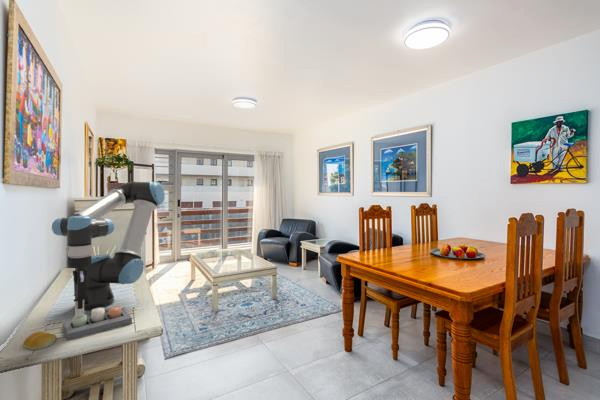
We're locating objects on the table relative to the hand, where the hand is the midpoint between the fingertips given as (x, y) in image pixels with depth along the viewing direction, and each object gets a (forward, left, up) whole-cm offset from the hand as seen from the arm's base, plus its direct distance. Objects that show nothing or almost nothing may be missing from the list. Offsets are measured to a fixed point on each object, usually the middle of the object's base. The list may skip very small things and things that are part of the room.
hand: (79, 316), depth 116 cm
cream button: (0, +6, -3) cm, 7 cm away
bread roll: (+4, -12, -6) cm, 14 cm away
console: (0, +6, -6) cm, 8 cm away
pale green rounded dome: (0, 0, -4) cm, 4 cm away
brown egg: (0, +12, -4) cm, 13 cm away
